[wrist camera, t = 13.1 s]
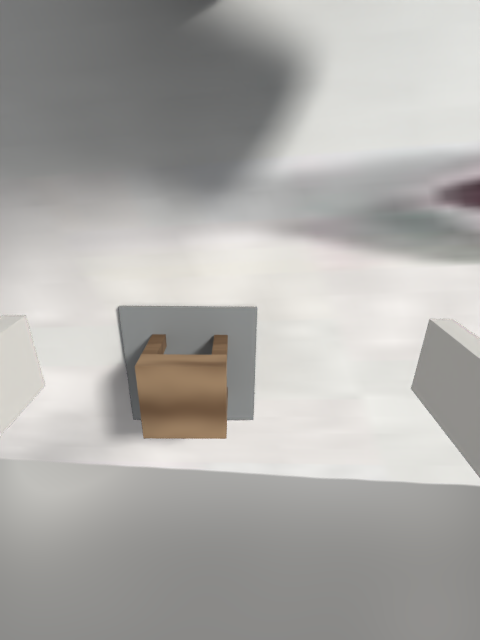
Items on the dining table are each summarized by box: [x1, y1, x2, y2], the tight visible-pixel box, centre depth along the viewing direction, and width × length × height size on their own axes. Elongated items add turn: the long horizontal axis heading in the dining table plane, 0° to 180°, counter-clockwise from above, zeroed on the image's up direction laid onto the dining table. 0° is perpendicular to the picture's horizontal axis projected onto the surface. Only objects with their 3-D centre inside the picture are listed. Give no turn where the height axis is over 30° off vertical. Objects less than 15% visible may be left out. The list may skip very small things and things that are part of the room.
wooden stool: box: [135, 334, 228, 439], centre depth 38 cm, size 9×9×8 cm
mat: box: [118, 306, 257, 420], centre depth 42 cm, size 16×16×1 cm
